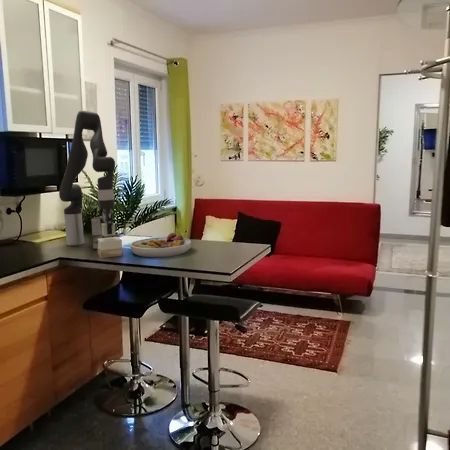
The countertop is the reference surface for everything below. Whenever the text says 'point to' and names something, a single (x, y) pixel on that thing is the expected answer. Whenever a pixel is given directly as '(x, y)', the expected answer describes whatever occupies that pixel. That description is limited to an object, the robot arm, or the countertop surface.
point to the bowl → (161, 246)
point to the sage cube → (104, 229)
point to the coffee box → (97, 231)
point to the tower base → (109, 252)
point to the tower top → (109, 243)
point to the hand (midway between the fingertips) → (108, 233)
